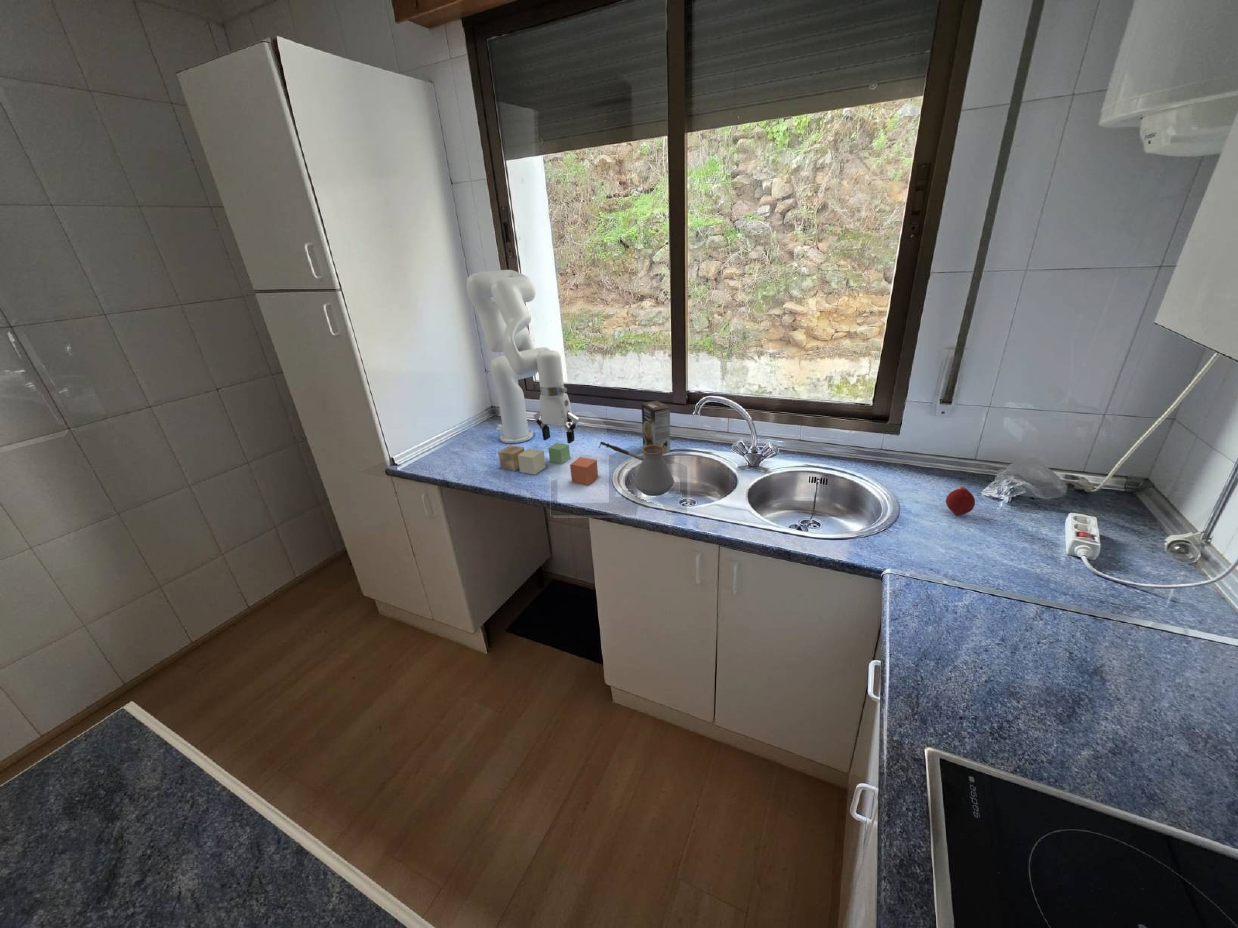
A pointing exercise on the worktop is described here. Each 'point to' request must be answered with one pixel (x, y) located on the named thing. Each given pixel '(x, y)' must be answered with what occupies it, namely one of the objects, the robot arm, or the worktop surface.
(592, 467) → the block
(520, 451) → the block
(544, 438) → the robot arm
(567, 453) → the green block
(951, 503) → the onion
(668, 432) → the coffee box
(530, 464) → the block
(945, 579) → the worktop surface
